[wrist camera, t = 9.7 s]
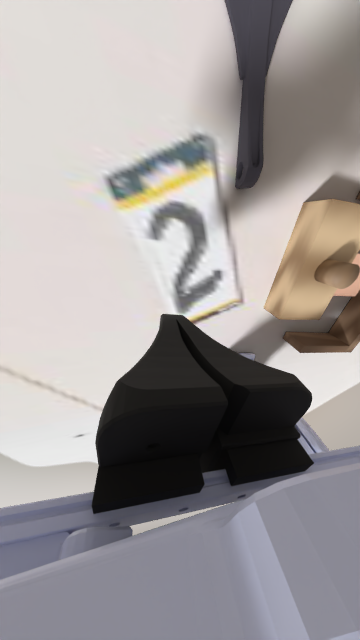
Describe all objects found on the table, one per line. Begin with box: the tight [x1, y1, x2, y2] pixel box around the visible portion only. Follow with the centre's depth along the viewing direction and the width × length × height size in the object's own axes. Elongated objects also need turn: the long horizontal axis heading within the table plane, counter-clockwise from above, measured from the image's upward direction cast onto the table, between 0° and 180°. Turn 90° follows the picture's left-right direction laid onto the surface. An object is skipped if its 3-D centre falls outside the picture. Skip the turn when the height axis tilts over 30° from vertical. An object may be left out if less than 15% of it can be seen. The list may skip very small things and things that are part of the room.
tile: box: [333, 253, 360, 296], centre depth 21 cm, size 5×5×2 cm
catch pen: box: [283, 192, 360, 353], centre depth 22 cm, size 19×10×4 cm, turn 172°
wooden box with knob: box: [264, 199, 360, 320], centre depth 19 cm, size 12×6×6 cm, turn 174°
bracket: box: [225, 0, 292, 189], centre depth 11 cm, size 14×15×3 cm
